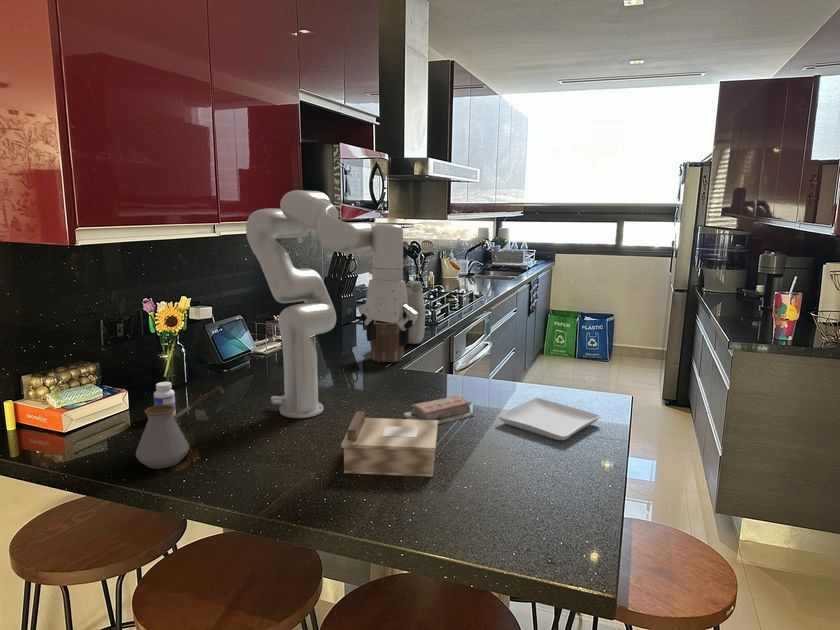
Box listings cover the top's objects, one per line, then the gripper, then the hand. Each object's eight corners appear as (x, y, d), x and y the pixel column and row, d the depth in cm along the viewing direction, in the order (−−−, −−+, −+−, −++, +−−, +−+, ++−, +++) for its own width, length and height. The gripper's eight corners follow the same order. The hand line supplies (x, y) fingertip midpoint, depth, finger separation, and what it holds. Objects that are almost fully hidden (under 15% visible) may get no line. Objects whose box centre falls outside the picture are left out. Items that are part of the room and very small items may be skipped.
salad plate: (564, 448, 144) (565, 435, 144) (495, 426, 158) (495, 414, 158) (601, 426, 160) (602, 414, 159) (535, 407, 174) (536, 396, 173)
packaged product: (454, 392, 173) (474, 401, 164) (454, 407, 174) (474, 417, 165) (403, 402, 163) (421, 412, 155) (403, 418, 164) (421, 429, 156)
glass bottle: (396, 343, 252) (397, 280, 247) (413, 339, 259) (414, 278, 254) (411, 347, 245) (412, 282, 240) (428, 343, 252) (430, 280, 247)
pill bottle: (152, 416, 162) (149, 383, 160) (171, 411, 165) (168, 379, 164) (160, 421, 158) (157, 387, 156) (179, 416, 162) (177, 383, 160)
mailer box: (344, 472, 129) (343, 448, 128) (356, 444, 144) (356, 421, 143) (432, 476, 128) (433, 451, 126) (435, 447, 143) (435, 424, 142)
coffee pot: (149, 477, 126) (143, 412, 123) (128, 461, 133) (123, 400, 130) (237, 448, 141) (234, 390, 138) (214, 435, 149) (211, 380, 146)
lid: (341, 447, 127) (341, 433, 127) (354, 420, 144) (354, 408, 143) (435, 451, 126) (435, 437, 126) (437, 423, 142) (438, 410, 142)
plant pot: (357, 359, 224) (357, 319, 221) (386, 352, 237) (386, 314, 234) (387, 367, 214) (387, 325, 211) (415, 359, 226) (416, 319, 223)
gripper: (350, 273, 141) (350, 341, 145) (409, 279, 133) (408, 350, 136) (368, 271, 148) (368, 335, 151) (425, 276, 139) (424, 344, 142)
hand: (387, 342), depth 143 cm, fingers open, 9 cm apart
